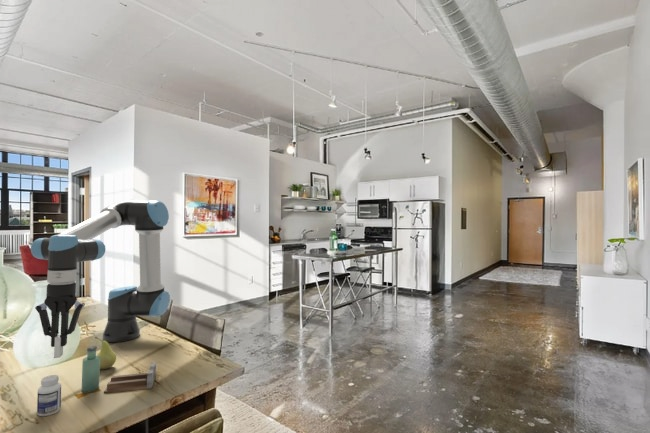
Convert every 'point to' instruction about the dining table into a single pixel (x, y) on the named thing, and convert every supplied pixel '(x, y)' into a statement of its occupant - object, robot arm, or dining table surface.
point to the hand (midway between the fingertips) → (58, 356)
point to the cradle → (132, 381)
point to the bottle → (90, 370)
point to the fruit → (106, 355)
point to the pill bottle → (49, 396)
